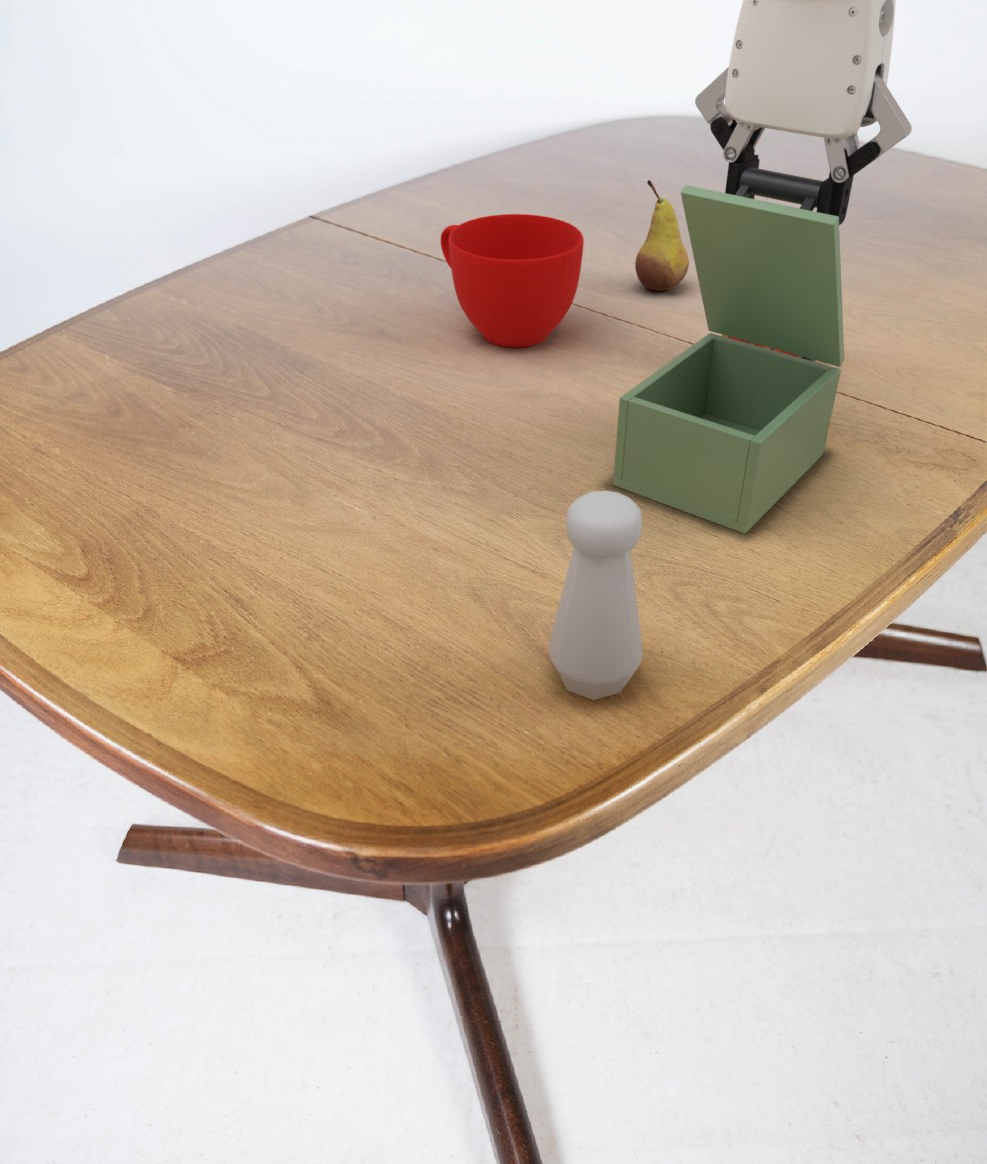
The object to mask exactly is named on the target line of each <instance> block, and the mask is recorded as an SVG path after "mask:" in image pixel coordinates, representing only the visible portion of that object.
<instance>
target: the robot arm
mask: <svg viewBox="0 0 987 1164" xmlns="http://www.w3.org/2000/svg"><path fill="white" fill-rule="evenodd" d="M895 15H896V0H742V3H741V7H740V11H739V14H738V19H737V23H736V28H735V32H734V36H733V42H732V46H731V50H730V51H731V53H730V57H729V58H730V59H729V64H728V66H727V68H726V69H725V70H724V71H722V72H721V73H720V74H719V75H718V76H717V77H716V78H715V79H714V80H712V82H710V84H708V85H707V86H706V87H705V88H704V89H703V90H702V91H701V92H700V93H698V95H697V96H696V97H695V99H694V104H695V106H696V108H697V109H698V111H699V112H700V114H701V116H702V117H703V118H704V121H705V122H706V123H707V124H708V125H709V126H710V127H709V128H710V131H711V133H712V135H713V137H714V138H715V140H716V142H717V143H718V144H719V146H720V147H721V149H722V150H723V152H722V156H723V159H724V161H725V162H727V163H728V165H727V174H726V175H727V176H726V183H725V191H724V193H727V194H732V195H735V194H736V192H737V191H738V189H739V184H740V178H741V175H742V173H743V171H744V169H745V168H746V167H752V168H758V169H760V168H759V167H760V158H759V154H755V152H756V149H755V148H756V146H757V144H758V143H759V140H760V139H761V137H762V135H763V134H764V131H765V130H766V129H769V130H775V131H781V132H786V133H793V134H799V135H804V136H809V137H810V136H811V137H818V138H823V140H824V146H825V151H826V156H827V161H828V167H829V173H828V178H826V179H824V180H822V181H823V182H822V184H821V189H820V194H819V200H818V206H817V208H816V211H815V212H819V213H824V214H829V215H833V216H838V217H839V226H841V225H842V224H843V223H844V221H845V219H846V216H847V212H848V208H849V203H850V197H851V192H852V187H853V183H854V182H853V181H854V177H855V175H856V174H857V173H859V172H860V171H862V170H863V169H864V168H866V167H867V166H868V165H870V164H871V163H873V162H874V161H875V160H877V159H878V158H880V157H881V156H882V155H883V154H885V153H886V152H888V151H889V150H890V149H892V148H893V147H894V146H896V145H898V144H899V143H900V142H901V141H903V140H904V139H906V138H907V137H908V136H910V134H911V133H912V130H913V129H912V128H913V127H912V124H911V123H910V121H909V119H908V118H907V116H906V114H905V113H904V111H903V110H902V108H901V106H900V105H899V104H898V102H897V100H896V99H895V97H894V96H893V94H892V92H891V91H890V89H889V87H888V80H889V71H890V65H891V55H892V47H893V38H894V29H895ZM876 122H877V123H878V125H879V132H878V134H876V135H875V136H873V138H872V139H870V140H868V141H867V142H866V143H865V144H863V145H862V146H860V141H859V136H858V132H859V130H860V128H864V127H868V126H869V127H870V126H871V125H874V124H875V123H876ZM755 196H756V195H751V194H750V195H749V196H748V198H751V199H755Z"/></svg>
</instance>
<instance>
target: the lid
mask: <svg viewBox="0 0 987 1164" xmlns="http://www.w3.org/2000/svg"><path fill="white" fill-rule="evenodd" d="M823 181H824V180H820V179H814V178H810V177H804V176H799V175H794V174H790V173H789V174H788V173H784V172H778V171H772V170H768V169H762V168H759V169H758V168H752V167H746V168H745V169H744V171H743V173H742V175H741V178H740V184H739V189H738V191H737V192H736V194H735V195H732V194H727V193H725V192H722V191H717V190H712V189H706V188H702V187H697V186H693V185H688V184H686V185H684V187H683V188H682V190H681V191H680V196H681V201H682V202H681V203H682V206H683V211H684V217H685V221H686V226H687V232H688V235H689V241H690V245H691V251H692V256H693V261H694V266H695V270H696V276H697V281H698V287H699V291H700V295H701V301H702V305H703V309H704V316H705V320H706V324H707V329H708V332H710V333H714V334H715V333H716V334H718V335H721V336H722V335H726V336H730V337H733V338H737V339H740V340H744V341H748V342H751V343H755V344H759V345H762V346H766V347H769V348H773V349H777V350H780V351H784V352H788V353H791V354H795V355H798V356H802V357H806V358H809V359H813V360H815V361H817V362H819V363H823V364H826V365H827V364H828V365H830V366H834V367H835V366H836V367H837V368H841V367H842V365H843V363H844V361H845V340H844V339H845V337H844V315H843V313H844V312H843V289H842V287H843V286H842V266H841V265H842V263H841V261H842V260H841V244H840V243H841V241H840V240H841V237H840V236H841V235H840V225H839V217H838V216H833V215H829V214H824V213H819V212H816V211H815V209H817V206H818V200H819V194H820V189H821V184H822V182H823ZM750 194H751V195H755V196H756V197H761V198H767V199H772V200H777V201H780V202H781V201H782V202H786V203H792V204H796V205H800V207H799V208H798V207H794V206H790V205H784V204H780V203H775V202H770V201H767V200H761V199H756V198H754V199H751V198H748V196H749V195H750Z"/></svg>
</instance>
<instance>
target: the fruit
mask: <svg viewBox="0 0 987 1164" xmlns="http://www.w3.org/2000/svg"><path fill="white" fill-rule="evenodd" d="M646 183H647V185H648V186H649V188H651V190H652V191H653V193H654V195H655V197H656V198H657V200H656V201H655V205H654V209H653V213H652V215H651V221H650V225H649V230H648V234H647V235H646V239H645V240H644V242H643V244H642V245H641V247H640V249H639V250H638V252H637V254H636V257H635V262H634V266H635V267H634V268H635V273H636V276H637V278H638V281H639V282H640V284H641V285H642V286H643V287H644V288H646V289H648V290H653V291H656V292H665V291H670V290H672V289H674V288H675V287H677V286H678V285H679V284H680V283H682V281H683V280H684V278H685V277H686V275H687V273H688V270H689V267H690V259H689V255H688V252H687V250H686V248H685V246H684V243H683V241H682V237H681V232H680V226H679V223H678V218H677V214H676V212H675V209H674V208H673V205H672V204H671V203H670V201H668V200H667V199H666V198H661V196H660V195H659V194H658V192H657V190H656V187H655V185H654V184H653V182H652V181H651V180H649V179H648V180H647V182H646Z"/></svg>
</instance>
